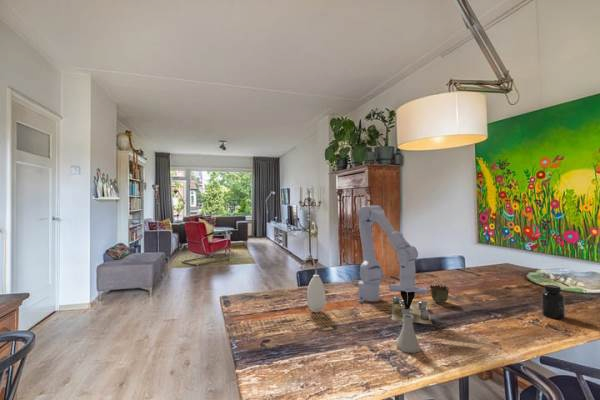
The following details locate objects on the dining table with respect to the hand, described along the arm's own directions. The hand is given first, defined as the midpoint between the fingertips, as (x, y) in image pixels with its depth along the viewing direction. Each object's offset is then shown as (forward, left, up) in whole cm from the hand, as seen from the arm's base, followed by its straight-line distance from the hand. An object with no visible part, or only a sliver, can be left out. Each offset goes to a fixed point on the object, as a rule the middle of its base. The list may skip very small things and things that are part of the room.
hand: (407, 310), depth 115 cm
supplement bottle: (+55, +16, -2) cm, 57 cm away
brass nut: (-3, 0, -1) cm, 3 cm away
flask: (-1, -27, -2) cm, 27 cm away
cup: (+14, +16, -2) cm, 21 cm away
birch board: (+1, 0, -2) cm, 2 cm away
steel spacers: (+1, +2, -1) cm, 2 cm away
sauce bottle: (-36, -8, -2) cm, 37 cm away
